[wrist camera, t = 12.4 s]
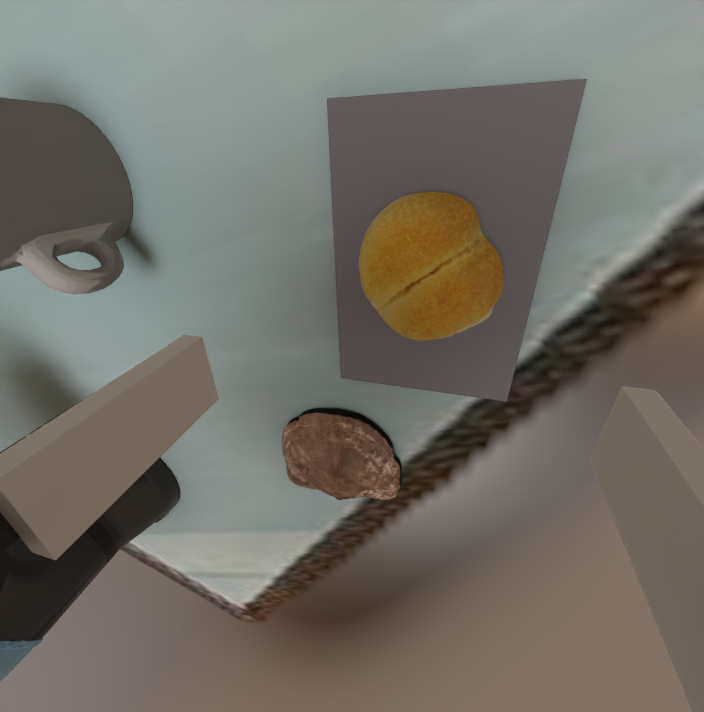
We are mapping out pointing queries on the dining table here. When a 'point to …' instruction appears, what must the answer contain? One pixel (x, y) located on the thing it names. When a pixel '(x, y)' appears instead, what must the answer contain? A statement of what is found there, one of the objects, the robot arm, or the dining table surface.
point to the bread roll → (430, 266)
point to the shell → (341, 455)
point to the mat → (458, 177)
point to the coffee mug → (60, 195)
